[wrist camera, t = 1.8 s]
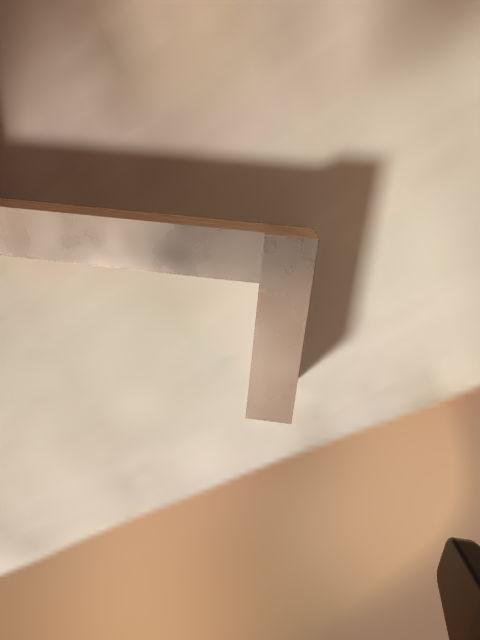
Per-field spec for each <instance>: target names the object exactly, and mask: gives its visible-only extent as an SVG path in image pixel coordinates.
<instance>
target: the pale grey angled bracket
mask: <svg viewBox="0 0 480 640" xmlns="http://www.w3.org/2000/svg"><path fill="white" fill-rule="evenodd" d="M318 241H319V239H318V237H317V236H316V234H315V232H314V230H313V228H306V227H295V226H285V225H275V224H264V223H254V222H244V221H233V220H223V219H213V218H202V217H192V216H182V215H171V214H161V213H151V212H140V211H130V210H120V209H109V208H99V207H89V206H78V205H68V204H58V203H47V202H37V201H27V200H16V199H6V198H0V255H2V256H11V257H21V258H30V259H39V260H48V261H58V262H67V263H76V264H85V265H95V266H104V267H113V268H122V269H132V270H141V271H150V272H159V273H169V274H178V275H187V276H196V277H206V278H215V279H224V280H233V281H243V282H252V283H259V292H258V302H257V312H256V321H255V331H254V341H253V351H252V361H251V370H250V380H249V390H248V400H247V409H246V418H249V419H257V420H264V421H272V422H279V423H287V424H291V421H292V415H293V408H294V401H295V395H296V388H297V381H298V375H299V368H300V361H301V355H302V348H303V341H304V335H305V328H306V321H307V315H308V308H309V301H310V295H311V288H312V281H313V275H314V268H315V261H316V255H317V248H318Z"/></svg>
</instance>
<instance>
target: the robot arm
mask: <svg viewBox="0 0 480 640" xmlns="http://www.w3.org/2000/svg"><path fill="white" fill-rule="evenodd" d="M437 582H438V588H439V592H440V597H441V602H442V607H443V612H444V616H445V621H446V626H447V631H448V635H449V640H480V546H479V545H478V544H476V543H475V542H474V541H472V540H467V539H460V538H454V537H452V538H449V539H448V540H447V542H446V544H445V547H444V550H443V553H442V556H441V559H440V562H439V566H438V569H437Z"/></svg>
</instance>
